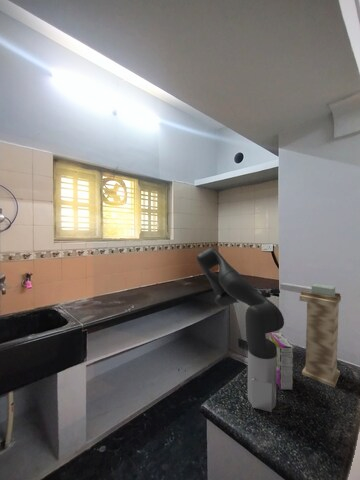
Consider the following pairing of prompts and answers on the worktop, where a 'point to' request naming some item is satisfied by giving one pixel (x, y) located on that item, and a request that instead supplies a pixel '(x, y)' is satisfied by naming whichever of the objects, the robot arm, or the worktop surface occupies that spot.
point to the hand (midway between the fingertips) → (274, 292)
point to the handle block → (310, 289)
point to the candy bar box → (283, 361)
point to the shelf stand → (321, 337)
